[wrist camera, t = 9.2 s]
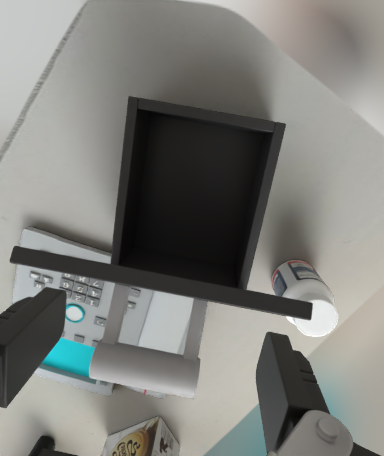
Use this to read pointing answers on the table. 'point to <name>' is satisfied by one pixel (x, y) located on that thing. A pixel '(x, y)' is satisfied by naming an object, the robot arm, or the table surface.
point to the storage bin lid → (145, 357)
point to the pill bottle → (306, 296)
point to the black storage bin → (193, 191)
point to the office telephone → (98, 314)
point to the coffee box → (143, 441)
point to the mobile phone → (42, 445)
